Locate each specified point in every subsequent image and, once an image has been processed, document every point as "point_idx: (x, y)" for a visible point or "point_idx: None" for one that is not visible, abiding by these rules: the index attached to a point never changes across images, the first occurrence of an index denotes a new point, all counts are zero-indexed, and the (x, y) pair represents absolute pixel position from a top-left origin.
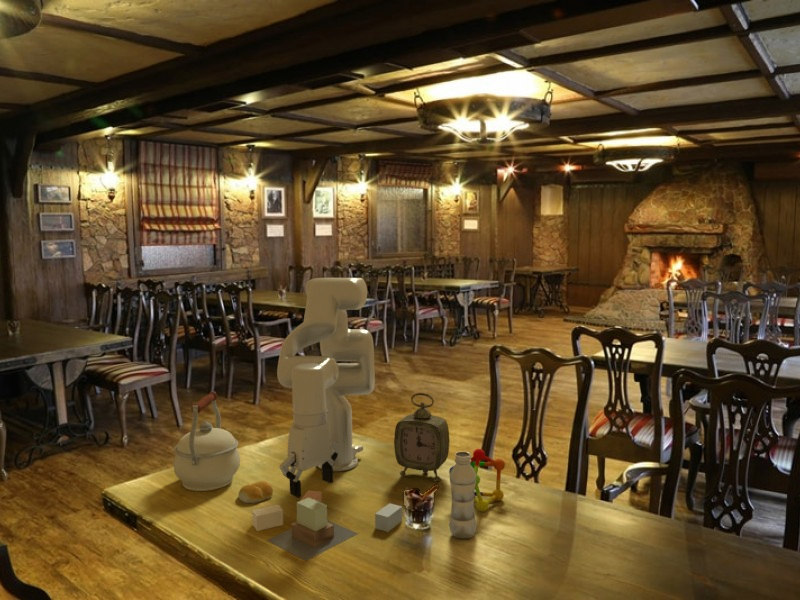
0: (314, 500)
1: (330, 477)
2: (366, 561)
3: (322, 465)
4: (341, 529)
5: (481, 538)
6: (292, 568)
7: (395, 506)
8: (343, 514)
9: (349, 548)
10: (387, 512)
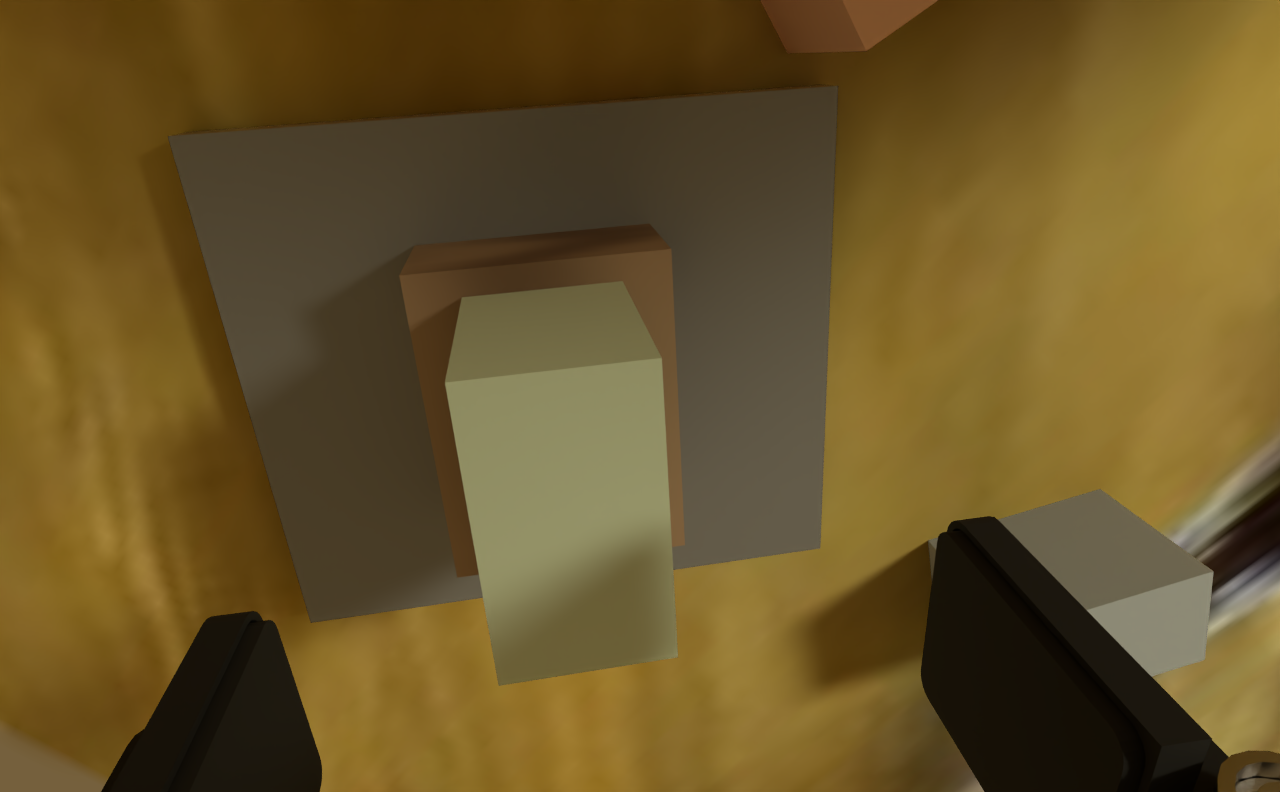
0: (658, 479)
1: (971, 766)
2: (642, 744)
3: (1124, 767)
4: (785, 431)
5: None
6: (221, 568)
7: (1184, 634)
8: (1031, 151)
9: (674, 589)
10: None
